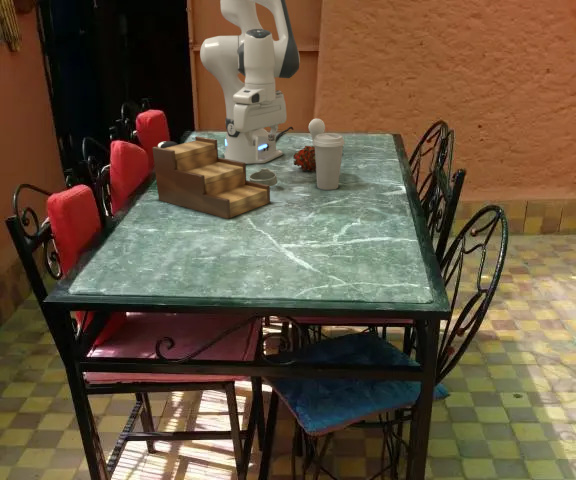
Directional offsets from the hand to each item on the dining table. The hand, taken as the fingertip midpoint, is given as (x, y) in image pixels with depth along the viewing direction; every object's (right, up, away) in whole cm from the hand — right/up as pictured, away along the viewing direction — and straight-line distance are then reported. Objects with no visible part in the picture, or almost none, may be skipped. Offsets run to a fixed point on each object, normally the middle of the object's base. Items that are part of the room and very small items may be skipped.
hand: (262, 143), depth 192 cm
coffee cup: (+20, -12, +6) cm, 24 cm away
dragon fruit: (+15, -1, +22) cm, 27 cm away
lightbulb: (+19, +15, +47) cm, 52 cm away
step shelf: (-14, -19, -6) cm, 24 cm away
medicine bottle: (-30, -8, +13) cm, 33 cm away
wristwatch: (0, -11, +7) cm, 13 cm away
